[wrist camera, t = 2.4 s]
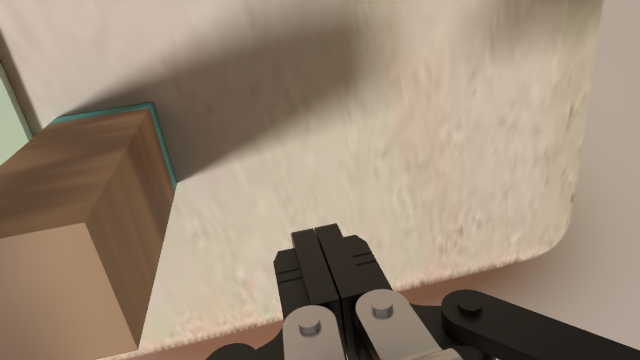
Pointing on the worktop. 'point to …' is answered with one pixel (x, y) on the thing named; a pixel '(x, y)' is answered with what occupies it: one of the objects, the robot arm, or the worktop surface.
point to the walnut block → (82, 234)
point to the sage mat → (11, 121)
